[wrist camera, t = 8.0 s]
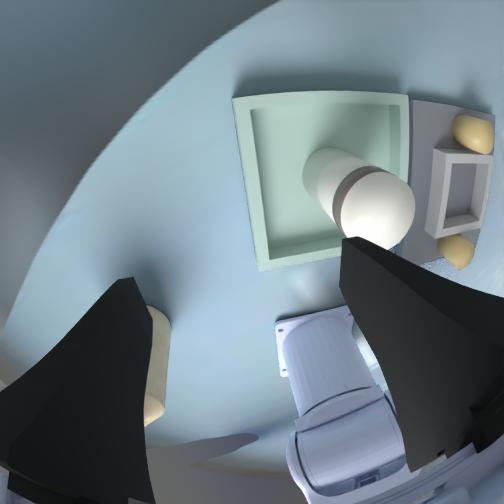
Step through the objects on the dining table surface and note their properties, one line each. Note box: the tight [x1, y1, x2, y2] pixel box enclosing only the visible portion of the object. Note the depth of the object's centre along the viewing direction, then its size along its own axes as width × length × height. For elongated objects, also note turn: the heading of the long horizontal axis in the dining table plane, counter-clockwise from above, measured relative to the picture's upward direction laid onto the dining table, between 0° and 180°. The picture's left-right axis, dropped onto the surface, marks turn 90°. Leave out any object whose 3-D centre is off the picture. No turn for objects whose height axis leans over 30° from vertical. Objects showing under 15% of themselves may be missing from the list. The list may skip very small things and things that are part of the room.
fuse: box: [302, 147, 415, 250], centre depth 15 cm, size 4×4×7 cm
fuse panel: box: [395, 99, 495, 270], centre depth 18 cm, size 15×12×4 cm
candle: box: [144, 305, 171, 427], centre depth 19 cm, size 6×6×10 cm
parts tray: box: [231, 91, 409, 272], centre depth 17 cm, size 12×12×2 cm
